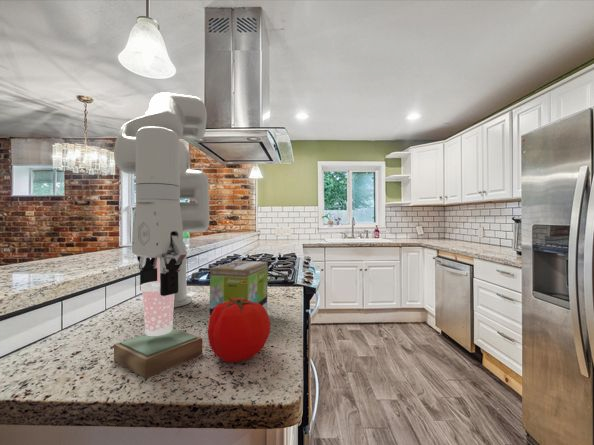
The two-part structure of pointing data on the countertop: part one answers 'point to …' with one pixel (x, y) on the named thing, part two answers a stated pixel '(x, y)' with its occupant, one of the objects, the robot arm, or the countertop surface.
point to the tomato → (238, 329)
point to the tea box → (239, 282)
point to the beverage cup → (157, 308)
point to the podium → (157, 351)
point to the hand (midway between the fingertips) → (158, 291)
